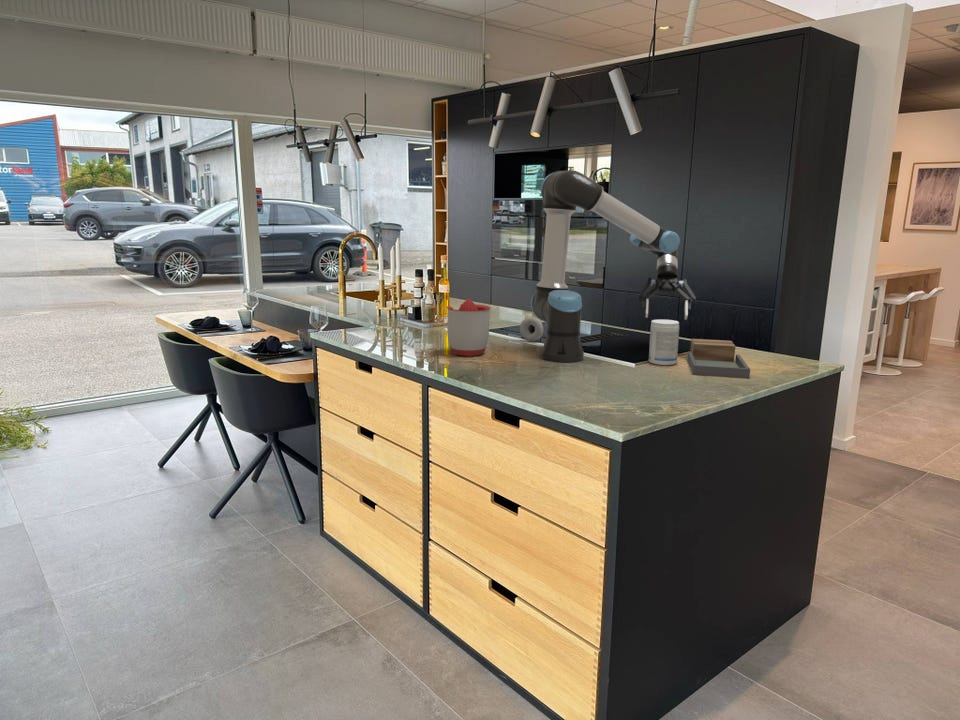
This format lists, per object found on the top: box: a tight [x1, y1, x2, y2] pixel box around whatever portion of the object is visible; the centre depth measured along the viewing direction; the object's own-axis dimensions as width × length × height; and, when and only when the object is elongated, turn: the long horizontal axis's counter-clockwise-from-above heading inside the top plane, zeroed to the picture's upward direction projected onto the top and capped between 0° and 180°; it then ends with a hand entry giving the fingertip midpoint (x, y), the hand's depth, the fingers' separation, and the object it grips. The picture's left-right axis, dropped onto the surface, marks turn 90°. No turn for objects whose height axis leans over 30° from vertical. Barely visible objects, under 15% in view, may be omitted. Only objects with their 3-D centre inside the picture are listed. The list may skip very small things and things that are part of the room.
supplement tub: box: [648, 319, 680, 366], centre depth 234 cm, size 10×10×15 cm
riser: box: [689, 338, 736, 362], centre depth 243 cm, size 10×14×6 cm
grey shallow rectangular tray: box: [686, 351, 751, 379], centre depth 229 cm, size 22×17×3 cm
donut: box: [519, 316, 544, 343], centre depth 268 cm, size 10×3×10 cm, turn 60°
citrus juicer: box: [446, 298, 491, 357], centre depth 244 cm, size 16×17×20 cm
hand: (666, 316), depth 241 cm, fingers open, 13 cm apart
